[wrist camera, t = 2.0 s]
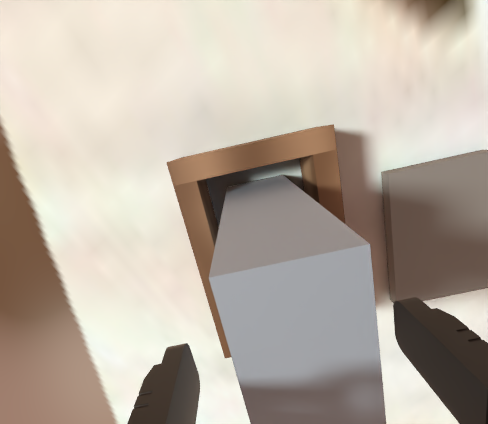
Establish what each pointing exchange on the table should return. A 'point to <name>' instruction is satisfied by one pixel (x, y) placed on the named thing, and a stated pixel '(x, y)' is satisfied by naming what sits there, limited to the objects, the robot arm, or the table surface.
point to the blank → (297, 308)
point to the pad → (437, 227)
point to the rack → (242, 158)
